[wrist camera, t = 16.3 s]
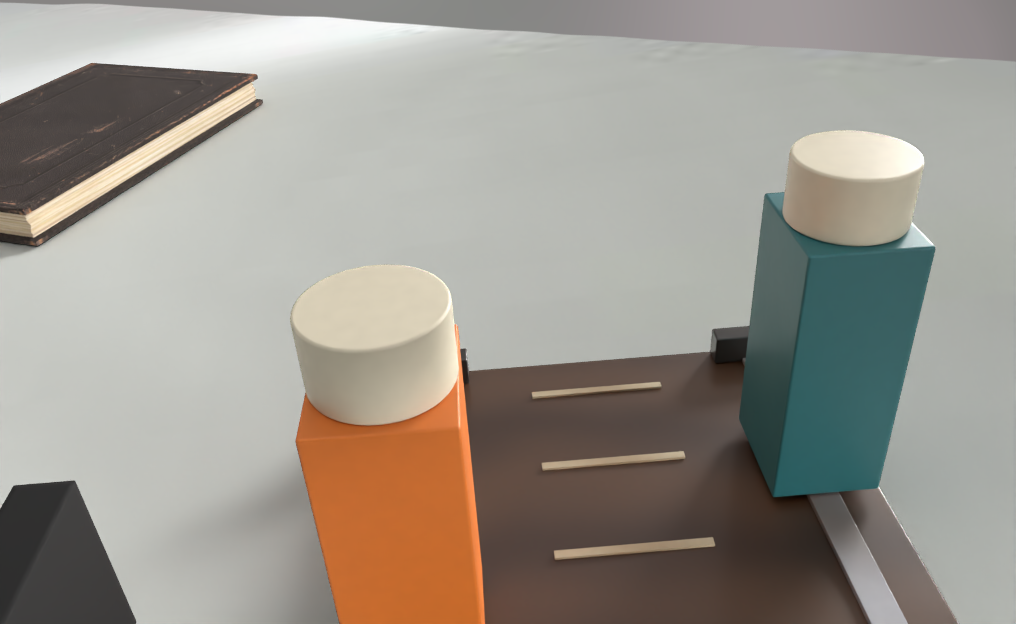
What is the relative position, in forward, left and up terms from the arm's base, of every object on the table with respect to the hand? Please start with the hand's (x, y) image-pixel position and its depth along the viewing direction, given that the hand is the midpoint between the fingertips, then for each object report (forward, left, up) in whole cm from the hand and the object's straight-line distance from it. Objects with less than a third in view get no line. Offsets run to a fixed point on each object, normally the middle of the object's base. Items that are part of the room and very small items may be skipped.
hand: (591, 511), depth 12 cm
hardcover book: (+50, +29, -14) cm, 60 cm away
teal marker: (+14, -9, -12) cm, 21 cm away
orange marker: (+8, +4, -12) cm, 15 cm away
